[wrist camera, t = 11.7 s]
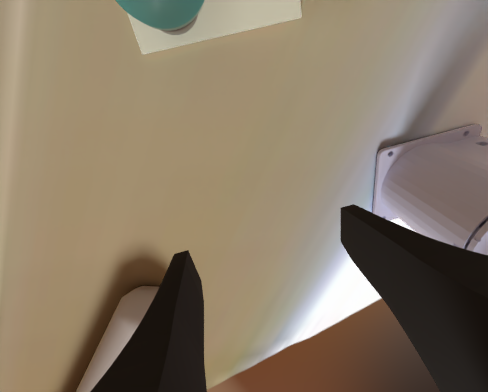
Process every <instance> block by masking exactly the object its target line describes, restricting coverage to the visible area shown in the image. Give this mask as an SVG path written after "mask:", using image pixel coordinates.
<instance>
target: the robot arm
mask: <svg viewBox="0 0 488 392" xmlns="http://www.w3.org/2000/svg"><path fill="white" fill-rule="evenodd" d="M481 130H482V127H481V125H478V124H473V125H470V126H466V127H462V128H458V129H455V130H451V131H447V132H443V133H440V134H436V135H432V136H428V137H425V138H421V139H417V140H413V141H410V142H406V143H402V144H398V145H395V146H391V147H387V148H383V149H381V150H380V151H379V152H378V155H377V165H376V176H375V188H374V200H373V212H372V213H371V212H369V211H367V210H365V209H363V208H360V207H358V206H356V205H350V206H346V207H342V208H341V242H342V244H343V246H344V248H345V249H346V251H347V253H348V254H349V256H350V257H351V259H352V260H353V262H354V263H355V264H356V266H357V267H358V268H359V269H360V271H361V272H362V273H363V275H364V276H365V277H366V278H367V280H368V281H369V282H370V283H371V285H372V286H373V287H374V288H375V290H376V291H377V292H378V293H379V295H380V296H381V297H382V298H383V300H384V301H385V302H386V304H387V305H388V306H389V308H390V309H391V311H392V312H393V314H394V315H395V317H396V318H397V320H398V321H399V323H400V325H401V326H402V328H403V329H404V331H405V332H406V334H407V336H408V337H409V339H410V341H411V342H412V344H413V345H414V347H415V349H416V350H417V352H418V354H419V355H420V357H421V359H422V360H423V362H424V364H425V365H426V367H427V369H428V371H429V372H430V374H431V376H432V377H433V379H434V381H435V383H436V385H437V386H438V388H439V390H440V392H488V138H485V137H481V136H480V133H481ZM390 151H391V152H390ZM389 152H390V154H389V155H388V153H389ZM396 218H400V219H401V220H402V221H403V222H405V223H406V224H407V225H408V226H410V227H411V228H412V229H413V230H414V231H416V232H414V231H411V230H409V229H407V228H404V227H402V226H400V225H397V224H395V223H393V222H391V221H389V220H392V219H396ZM90 392H207V390H206V379H205V368H204V300H203V291H202V284H201V279H200V277H199V275H198V272H197V270H196V268H195V265H194V263H193V261H192V258H191V256H190V253H189V251H188V250H187V251H184V252H180V253H177V254H174V256H173V258H172V260H171V263H170V265H169V267H168V270H167V272H166V274H165V276H164V279H163V281H162V283H161V285H160V287H159V289H158V291H157V293H156V295H155V297H154V299H153V301H152V303H151V304H150V306H149V308H148V310H147V312H146V313H145V315H144V317H143V319H142V320H141V322H140V324H139V325H138V327H137V329H136V330H135V332H134V333H133V335H132V336H131V338H130V340H129V341H128V343H127V344H126V345H125V347H124V348H123V350H122V351H121V352H120V354H119V355H118V357H117V358H116V359H115V361H114V362H113V363H112V365H111V366H110V368H109V369H108V370H107V372H106V373H105V374H104V375H103V377H102V378H101V379H100V380H99V381H98V383H97V384H96V385H95V386H94V388H93V389H92V390H91V391H90Z"/></svg>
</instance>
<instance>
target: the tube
mask: <svg viewBox="0 0 488 392" xmlns="http://www.w3.org/2000/svg"><path fill="white" fill-rule="evenodd" d="M158 289H159V287H157V286H140V287H137V288H135V289H134V290H132V291H131V292H129V293H128V294H126V295H125V296H123V297H122V298H121V300H120V302H119V304H118V306H117V308H116V310H115V312H114V314H113V316H112V318H111V320H110V322H109V324H108V327H107V329H106V331H105V333H104V335H103V337H102V339H101V341H100V343H99V345H98V347H97V349H96V351H95V353H94V355H93V357H92V359H91V361H90V364H89V366H88V368H87V370H86V372H85V374H84V376H83V378H82V380H81V382H80V384H79V386H78V388H77V390H76V392H90V391H91V390H92V389H93V388H94V386H95V385H96V384H97V383H98V381H99V380H100V379H101V378H102V377H103V375H104V374H105V373H106V372H107V370H108V369H109V368H110V366H111V365H112V363H113V362H114V361H115V359H116V358H117V357H118V355H119V354H120V352H121V351H122V350H123V348H124V347H125V345H126V344H127V343H128V341H129V340H130V338H131V336H132V335H133V333H134V332H135V330H136V329H137V327H138V325H139V324H140V322H141V320H142V319H143V317H144V315H145V313H146V312H147V310H148V308H149V306H150V304H151V303H152V301H153V299H154V297H155V295H156V293H157V291H158Z"/></svg>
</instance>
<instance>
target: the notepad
mask: <svg viewBox="0 0 488 392" xmlns="http://www.w3.org/2000/svg"><path fill="white" fill-rule="evenodd" d="M128 16H129V19H130V22H131V25H132V27H133V30H134V33H135V36H136V39H137V41H138V44H139V47H140V50H141V53H142V55H144V54H148V53H152V52H157V51H161V50H165V49H170V48H174V47H178V46H183V45H187V44H191V43H196V42H200V41H204V40H208V39H213V38H217V37H221V36H226V35H230V34H234V33H239V32H243V31H247V30H252V29H256V28H260V27H265V26H269V25H273V24H277V23H282V22H286V21H290V20H295V19H299V18H302V13H301V0H204V3H203V6H202V8H201V10H200V12H199V13H198V17H197V20H196V22H195V24H194V25H193V27H192V28H191V29H190V30H189V31H187V32H186V33H184V34H181V35H170V34H167V33H164V32H163V31H161V30H159V29H155V28H152V27H150V26H148V25H146V24H144V23H142V22H140V21H139V20H137V19H136V18H134V17H132V16H131V15H130V14H129V13H128Z"/></svg>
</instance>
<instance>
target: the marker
mask: <svg viewBox="0 0 488 392" xmlns="http://www.w3.org/2000/svg"><path fill="white" fill-rule="evenodd" d="M116 1H117V2H118V4H119V5H120V6H121V7H122V8H123V9H124V10H125V11H126V12H127V13H129V14H130V15H131V16H132V17H134V18H136V19H137V20H139V21H140V22H142V23H144V24H146V25H148V26H150V27H152V28H155V29H159V30H161V31H163V32H164V33H167V34H170V35H181V34H184V33H186V32H187V31H189V30H190V29H191V28H192V27H193V25H194V24H195V22H196V20H197V17H198V13H199V12H200V10H201V8H202V6H203V3H204V0H116Z"/></svg>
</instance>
